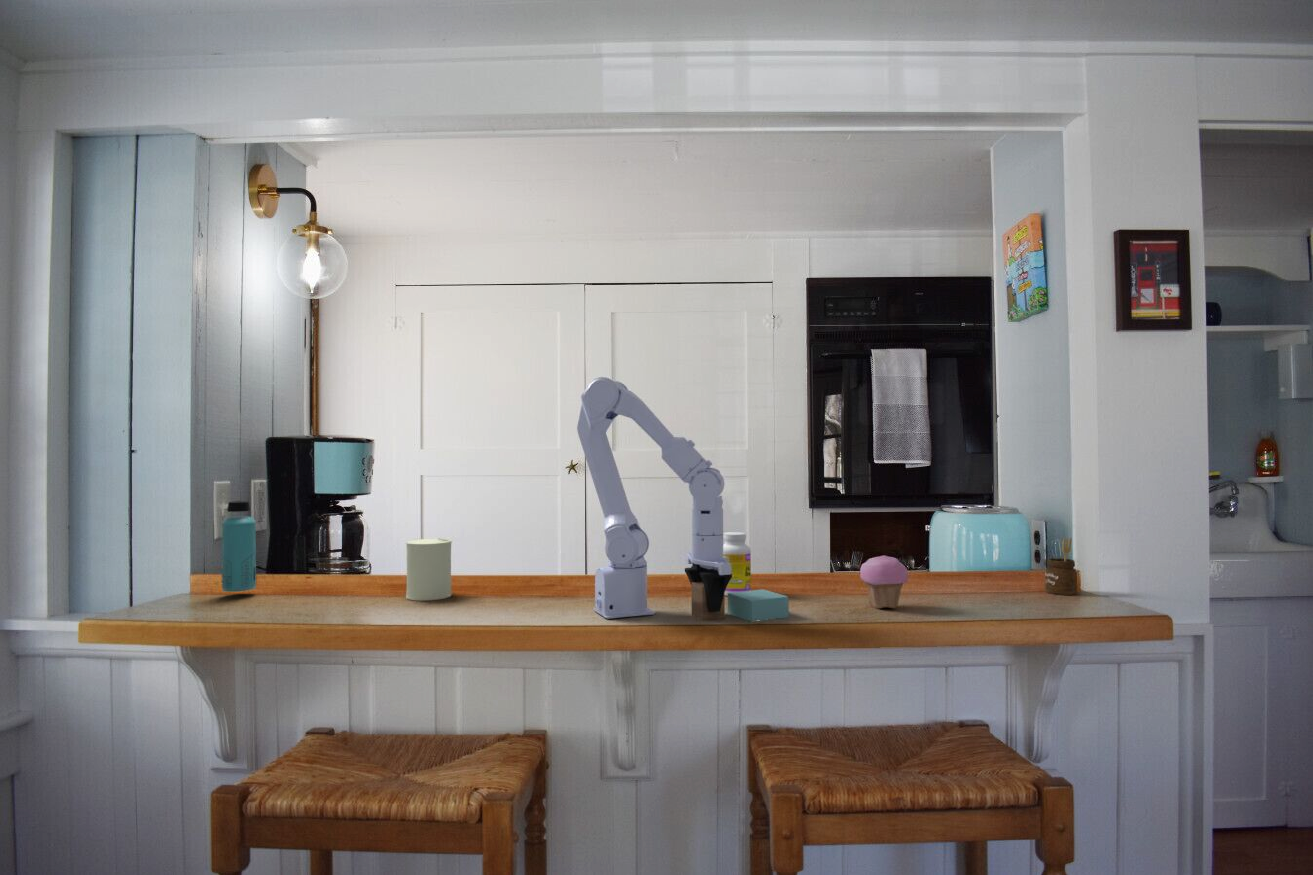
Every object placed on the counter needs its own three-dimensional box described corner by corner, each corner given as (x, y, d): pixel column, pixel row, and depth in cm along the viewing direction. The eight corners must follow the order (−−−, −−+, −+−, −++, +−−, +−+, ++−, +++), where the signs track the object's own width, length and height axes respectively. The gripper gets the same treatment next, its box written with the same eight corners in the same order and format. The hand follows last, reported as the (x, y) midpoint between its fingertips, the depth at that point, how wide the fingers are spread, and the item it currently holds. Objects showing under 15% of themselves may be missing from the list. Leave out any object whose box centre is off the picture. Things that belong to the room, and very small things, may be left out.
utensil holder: (1069, 590, 158) (1068, 534, 158) (1083, 596, 152) (1082, 538, 152) (1040, 590, 158) (1039, 534, 159) (1053, 595, 152) (1052, 537, 152)
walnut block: (702, 620, 131) (702, 586, 131) (691, 614, 135) (691, 582, 135) (724, 617, 133) (724, 584, 133) (713, 612, 137) (713, 580, 137)
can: (455, 598, 151) (455, 540, 152) (409, 602, 147) (409, 542, 148) (447, 590, 160) (447, 535, 160) (403, 594, 156) (403, 537, 156)
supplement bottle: (749, 597, 151) (749, 535, 151) (717, 596, 152) (717, 534, 152) (751, 591, 158) (751, 531, 158) (721, 590, 159) (720, 531, 159)
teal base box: (751, 623, 130) (751, 600, 130) (727, 614, 137) (727, 593, 137) (788, 618, 133) (788, 596, 133) (763, 610, 141) (763, 589, 141)
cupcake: (902, 603, 145) (901, 552, 145) (913, 613, 136) (913, 559, 137) (856, 602, 146) (855, 552, 146) (864, 612, 137) (864, 558, 137)
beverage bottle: (259, 596, 154) (259, 500, 154) (222, 600, 150) (223, 502, 150) (254, 591, 159) (254, 499, 159) (218, 595, 155) (219, 500, 155)
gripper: (746, 537, 129) (746, 614, 129) (709, 529, 143) (709, 599, 142) (710, 539, 127) (710, 618, 126) (676, 530, 140) (676, 602, 140)
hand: (707, 608), depth 134 cm, fingers closed on walnut block, 4 cm apart
